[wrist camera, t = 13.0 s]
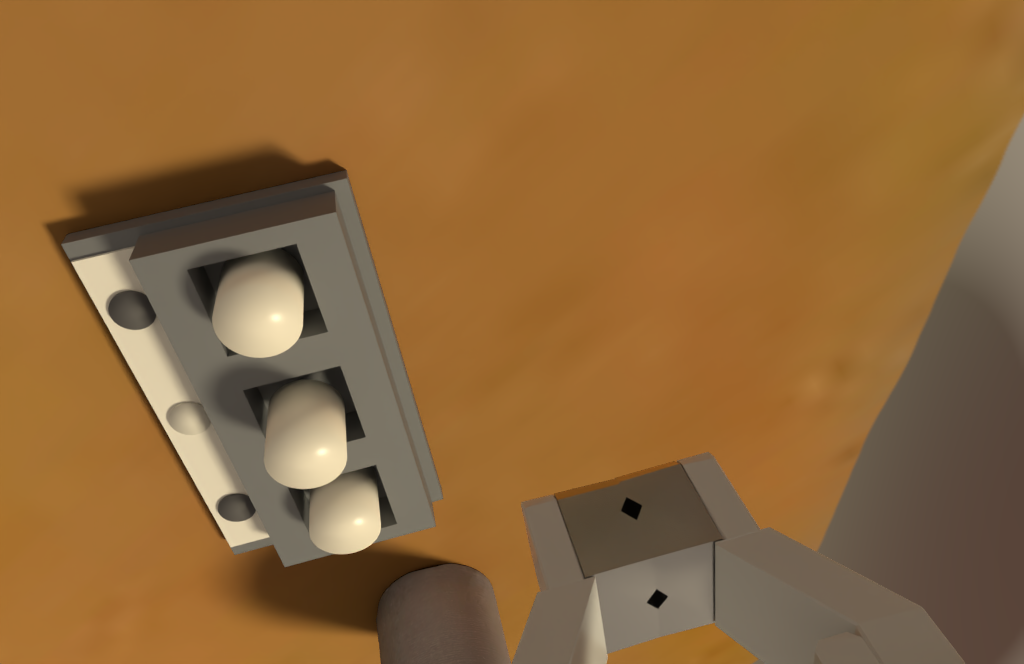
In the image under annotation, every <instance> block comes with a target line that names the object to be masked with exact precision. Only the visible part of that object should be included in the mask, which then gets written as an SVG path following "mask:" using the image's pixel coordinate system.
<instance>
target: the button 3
mask: <svg viewBox="0 0 1024 664" xmlns="http://www.w3.org/2000/svg"><path fill="white" fill-rule="evenodd" d="M380 531H381V520H380V509H379V498H378V487H377V476H376V472H375V470H374V468H373V467H372V466H370V467H366V468H362V469H359V470H355V471H351V472H347V473H343V474H340V475H339V476H338V477H337V478H336V479H334V480H333V481H331V482H330V483H328V484H326V485H323V486H320V487H317V488H311V489H310V508H309V534H310V538H311V540H312V542H313V543H314V544H315V545H316V546H317V547H318V548H320V549H321V550H323V551H326V552H329V553H333V554H350V553H355V552H358V551H361V550H363V549H365V548H367V547H368V546H370V545H371V544H372V543H373V542H374V541H375V540H376V539H377V538H378V536H379V534H380Z"/></svg>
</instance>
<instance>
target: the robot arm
mask: <svg viewBox="0 0 1024 664" xmlns="http://www.w3.org/2000/svg"><path fill="white" fill-rule="evenodd" d="M521 507H522V512H523V516H524V521H525V526H526V531H527V535H528V540H529V545H530V550H531V554H532V558H533V562H534V566H535V571H536V575H537V579H538V583H539V587H540V590H541V592H538V593H537V595H536V598H535V601H534V604H533V606H532V609H531V612H530V615H529V617H528V620H527V623H526V626H525V629H524V631H523V634H522V637H521V640H520V642H519V645H518V648H517V651H516V653H515V656H514V659H513V662H512V664H606V663H607V658H608V657H607V654H608V653H611V652H614V651H618V650H621V649H624V648H627V647H630V646H633V645H636V644H639V643H642V642H646V641H649V640H652V639H655V638H658V637H662V636H665V635H669V634H673V633H677V632H681V631H685V630H688V629H692V628H696V627H700V626H704V625H708V624H711V623H715V626H717V627H718V628H719V629H721V630H722V631H723V632H725V633H726V634H727V635H728V636H730V637H731V638H732V639H734V640H735V641H736V642H738V643H739V644H740V645H742V646H743V647H744V648H745V649H747V650H748V651H749V652H751V653H752V654H753V655H755V656H756V657H757V658H758V659H760V660H761V661H762V662H764V663H765V664H966V663H965V662H964V661H963V659H962V658H961V657H960V656H959V654H958V653H957V652H956V650H955V649H954V648H953V647H952V645H951V644H950V643H949V641H948V640H947V639H946V638H945V636H944V635H943V634H942V632H941V631H940V630H939V628H938V627H937V626H936V624H935V623H934V622H933V621H932V619H931V618H930V617H929V615H928V614H927V613H926V612H925V610H924V609H923V608H922V607H921V606H919V605H917V604H915V603H913V602H911V601H909V600H907V599H905V598H903V597H902V596H900V595H898V594H896V593H894V592H892V591H890V590H888V589H886V588H884V587H883V586H881V585H879V584H877V583H875V582H873V581H871V580H869V579H867V578H865V577H863V576H861V575H860V574H858V573H855V572H854V571H852V570H850V569H848V568H846V567H844V566H843V565H840V564H839V563H837V562H835V561H833V560H831V559H829V558H827V557H825V556H823V555H822V554H820V553H818V552H816V551H814V550H812V549H810V548H808V547H806V546H804V545H803V544H801V543H799V542H797V541H795V540H793V539H791V538H789V537H787V536H785V535H783V534H782V533H780V532H778V531H776V530H774V529H772V528H770V527H769V528H765V529H761V530H760V528H759V527H758V525H757V524H756V522H755V520H754V519H753V517H752V516H751V514H750V513H749V511H748V509H747V508H746V506H745V505H744V503H743V502H742V500H741V498H740V497H739V495H738V494H737V492H736V490H735V489H734V487H733V486H732V484H731V483H730V481H729V479H728V478H727V476H726V475H725V473H724V472H723V470H722V468H721V467H720V465H719V464H718V462H717V461H716V459H715V457H714V456H713V455H711V454H710V453H709V452H706V453H703V454H699V455H696V456H692V457H688V458H685V459H681V460H677V462H675V461H673V462H669V463H666V464H662V465H659V466H655V467H652V468H648V469H645V470H641V471H638V472H634V473H630V474H627V475H623V476H620V477H616V478H615V479H612V480H608V481H604V482H599V483H595V484H591V485H587V486H583V487H579V488H575V489H571V490H567V491H563V492H558V493H554V496H553V494H552V495H548V496H544V497H540V498H536V499H532V500H528V501H524V502H522V503H521Z"/></svg>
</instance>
